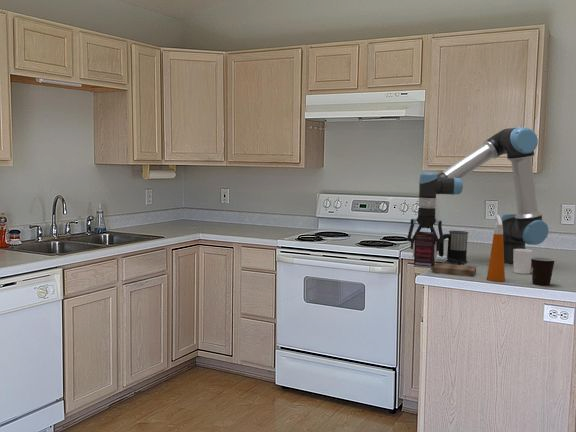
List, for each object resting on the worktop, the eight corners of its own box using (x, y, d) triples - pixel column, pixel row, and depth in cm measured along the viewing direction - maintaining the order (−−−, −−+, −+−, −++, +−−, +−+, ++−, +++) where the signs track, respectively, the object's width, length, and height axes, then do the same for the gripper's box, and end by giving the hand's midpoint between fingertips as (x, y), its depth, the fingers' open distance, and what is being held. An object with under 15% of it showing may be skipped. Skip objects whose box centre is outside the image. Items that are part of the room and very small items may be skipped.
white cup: (535, 274, 260) (536, 251, 259) (519, 274, 258) (521, 251, 257) (523, 270, 268) (524, 248, 267) (508, 271, 266) (509, 248, 265)
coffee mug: (548, 287, 233) (550, 261, 232) (526, 283, 238) (527, 258, 237) (558, 283, 241) (560, 258, 240) (536, 279, 247) (538, 255, 246)
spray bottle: (501, 277, 251) (505, 214, 249) (506, 282, 240) (510, 216, 238) (483, 276, 252) (487, 213, 250) (488, 281, 242) (491, 216, 239)
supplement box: (434, 267, 271) (436, 232, 269) (432, 268, 267) (434, 233, 265) (416, 265, 275) (417, 230, 273) (413, 266, 271) (414, 231, 269)
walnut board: (475, 272, 261) (476, 266, 261) (473, 276, 250) (473, 270, 250) (436, 268, 268) (436, 262, 268) (432, 272, 257) (432, 267, 256)
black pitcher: (459, 260, 293) (460, 230, 292) (480, 265, 279) (481, 234, 277) (434, 261, 288) (435, 230, 287) (454, 267, 274) (456, 234, 272)
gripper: (401, 206, 269) (399, 256, 271) (450, 209, 261) (448, 260, 263) (404, 205, 276) (402, 254, 278) (452, 208, 268) (450, 258, 270)
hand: (424, 257), depth 270 cm, fingers closed on supplement box, 9 cm apart
